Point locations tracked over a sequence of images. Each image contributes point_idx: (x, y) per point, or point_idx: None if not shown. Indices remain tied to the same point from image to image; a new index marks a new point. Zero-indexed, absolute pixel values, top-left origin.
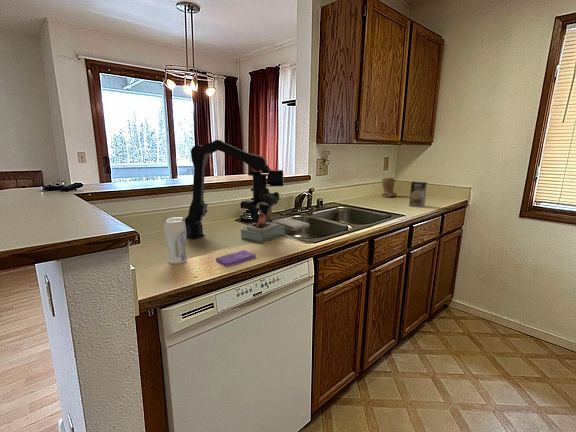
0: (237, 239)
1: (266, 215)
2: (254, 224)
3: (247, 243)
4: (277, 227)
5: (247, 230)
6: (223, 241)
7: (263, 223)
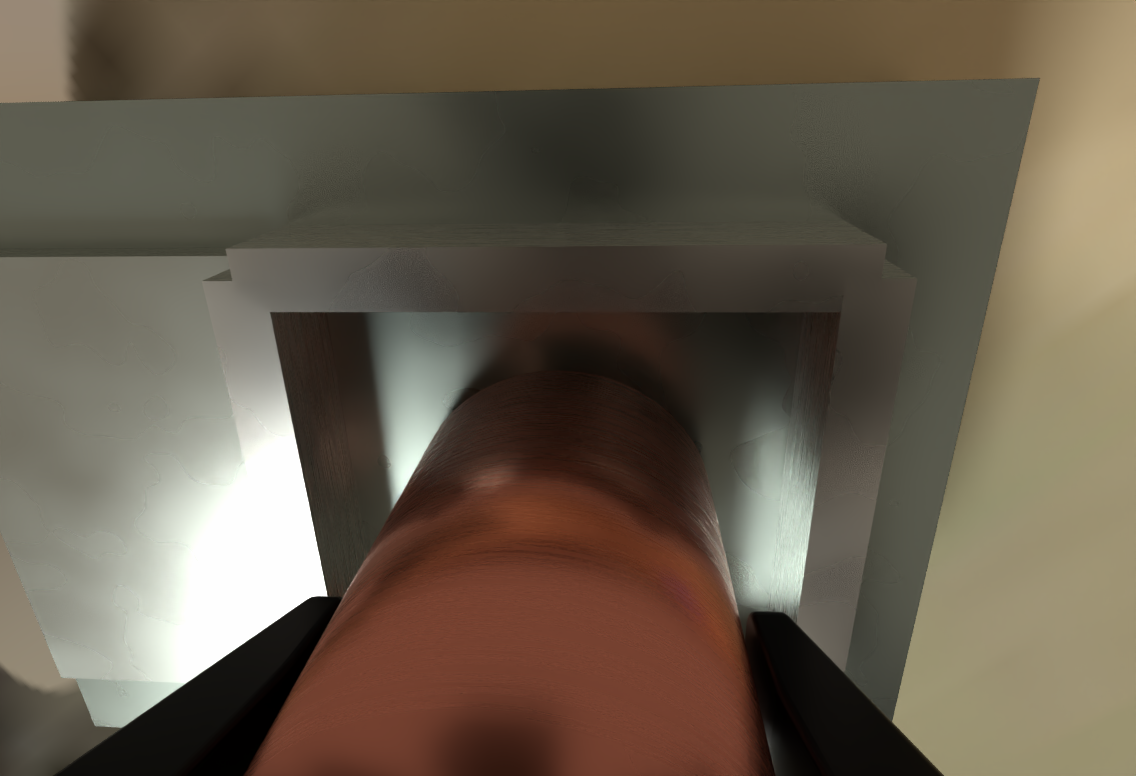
0: None
1: (150, 720)
2: None
3: (1058, 343)
4: (136, 183)
5: (884, 624)
6: (1115, 718)
7: (579, 453)
